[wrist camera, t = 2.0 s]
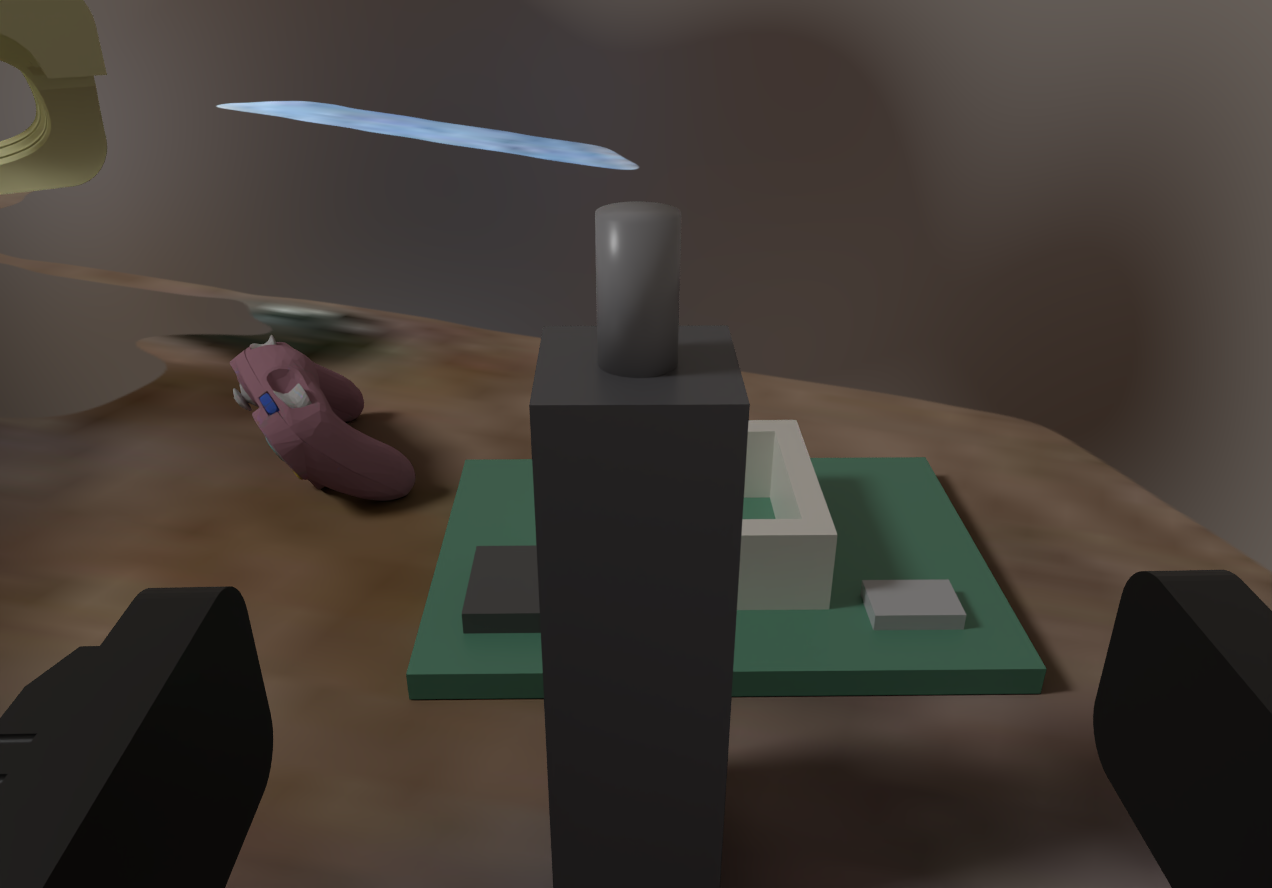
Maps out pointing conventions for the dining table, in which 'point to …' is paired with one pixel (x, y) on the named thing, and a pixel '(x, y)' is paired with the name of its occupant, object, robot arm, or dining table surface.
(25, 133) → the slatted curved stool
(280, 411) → the video game controller
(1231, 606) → the robot arm
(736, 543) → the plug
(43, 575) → the dining table surface
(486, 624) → the circuit board
